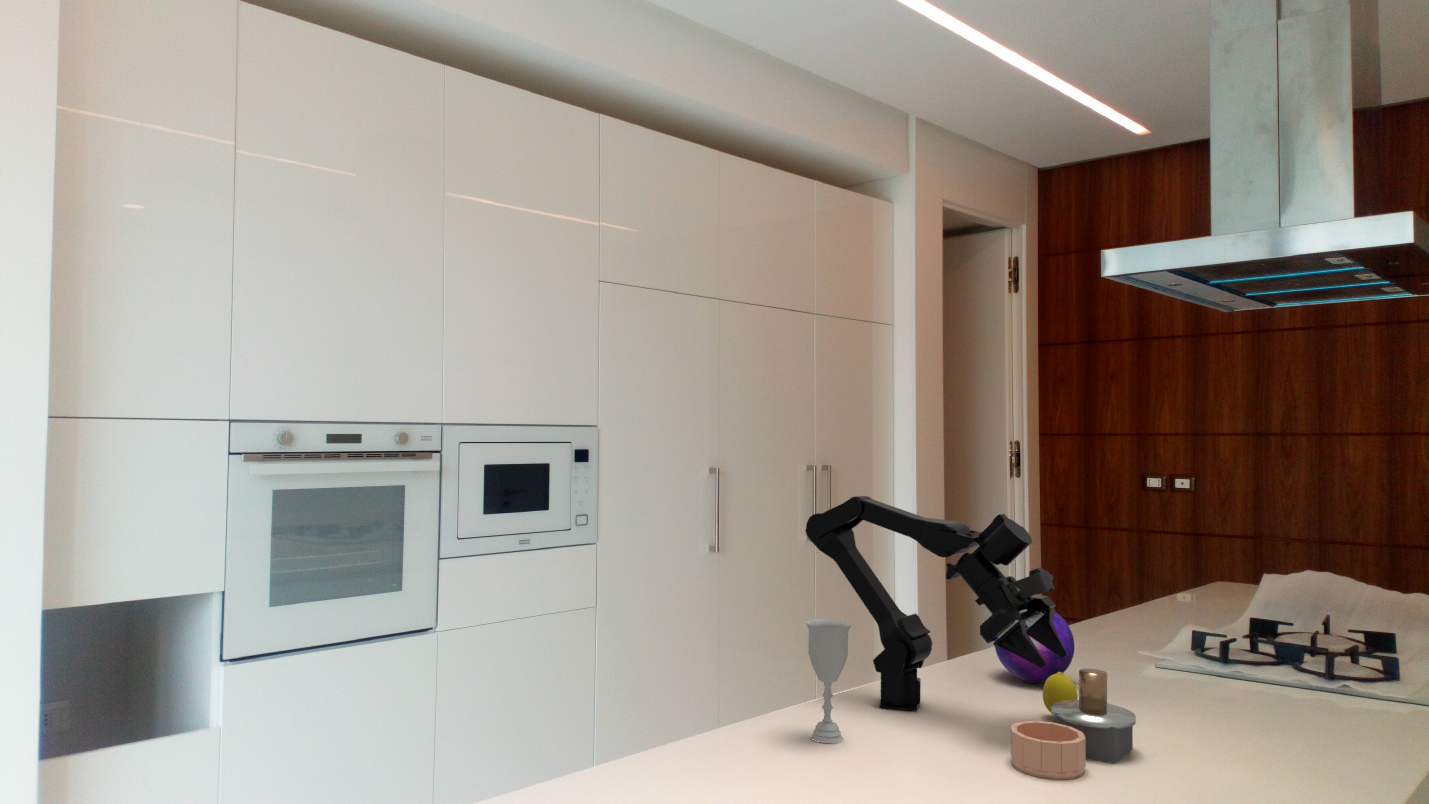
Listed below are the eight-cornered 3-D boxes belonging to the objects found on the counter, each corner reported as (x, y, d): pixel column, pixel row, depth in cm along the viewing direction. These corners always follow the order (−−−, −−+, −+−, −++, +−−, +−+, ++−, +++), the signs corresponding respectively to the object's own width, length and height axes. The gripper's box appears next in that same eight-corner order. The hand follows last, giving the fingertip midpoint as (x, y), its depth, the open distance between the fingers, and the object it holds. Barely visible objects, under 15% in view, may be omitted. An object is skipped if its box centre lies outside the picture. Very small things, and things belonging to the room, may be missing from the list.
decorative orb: (979, 679, 180) (979, 603, 180) (1018, 667, 190) (1018, 595, 191) (1050, 696, 169) (1051, 615, 169) (1088, 682, 179) (1088, 606, 179)
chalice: (854, 734, 144) (855, 620, 145) (846, 748, 138) (847, 629, 139) (809, 729, 147) (810, 617, 148) (799, 742, 140) (800, 625, 141)
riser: (1053, 749, 139) (1053, 716, 139) (1073, 735, 146) (1073, 704, 146) (1114, 763, 133) (1114, 729, 134) (1132, 748, 140) (1132, 715, 140)
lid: (1056, 724, 136) (1056, 678, 136) (1047, 702, 147) (1047, 659, 147) (1143, 732, 133) (1143, 685, 133) (1127, 708, 144) (1127, 665, 144)
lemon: (1080, 725, 151) (1080, 677, 152) (1045, 722, 152) (1045, 674, 153) (1074, 715, 157) (1074, 668, 157) (1040, 713, 158) (1040, 666, 158)
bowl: (1013, 774, 128) (1013, 739, 128) (1008, 751, 138) (1009, 718, 138) (1089, 782, 126) (1089, 746, 126) (1079, 758, 135) (1079, 724, 135)
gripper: (998, 557, 141) (1071, 639, 133) (1043, 547, 155) (1110, 621, 148) (951, 601, 146) (1018, 683, 138) (998, 588, 160) (1062, 662, 152)
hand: (1055, 660), depth 144 cm, fingers open, 9 cm apart
